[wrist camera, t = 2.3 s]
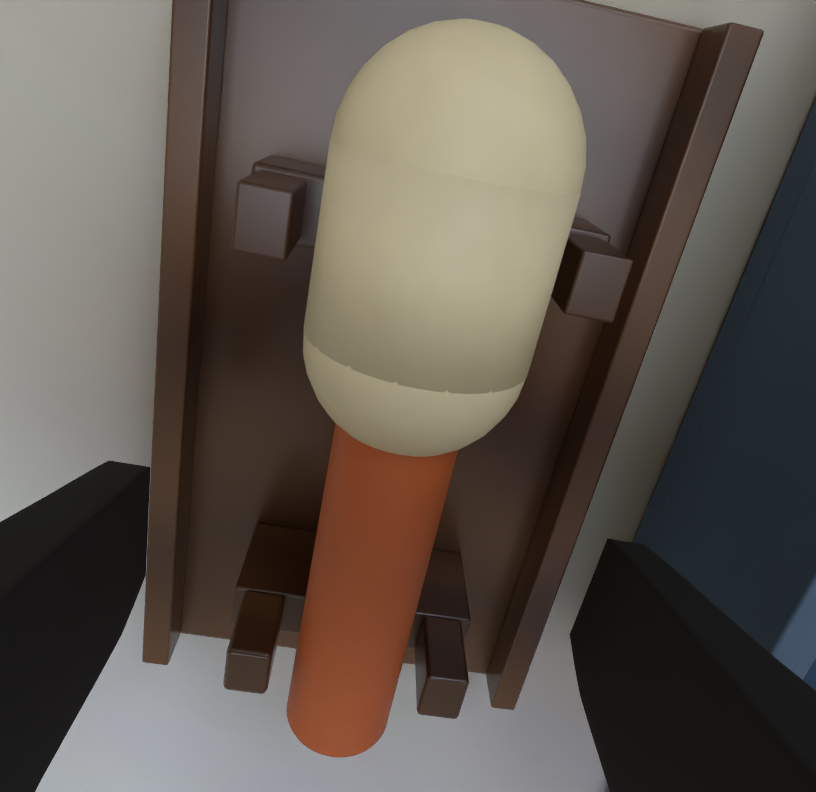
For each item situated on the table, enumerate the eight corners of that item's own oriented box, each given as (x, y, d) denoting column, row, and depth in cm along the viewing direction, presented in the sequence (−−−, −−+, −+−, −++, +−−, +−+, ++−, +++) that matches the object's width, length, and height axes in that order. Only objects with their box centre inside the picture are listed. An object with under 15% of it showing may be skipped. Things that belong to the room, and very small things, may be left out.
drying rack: (503, 654, 18) (536, 825, 14) (166, 608, 17) (91, 775, 13) (714, 39, 12) (889, 7, 8) (209, -81, 11) (94, -191, 7)
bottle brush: (418, 657, 15) (424, 806, 12) (266, 637, 14) (231, 784, 11) (582, 59, 10) (667, 42, 7) (358, 7, 10) (341, -36, 6)
